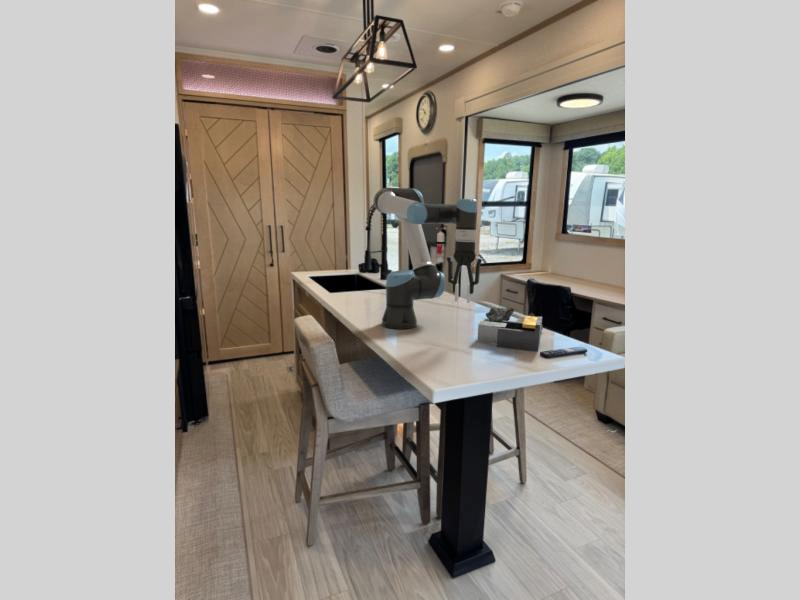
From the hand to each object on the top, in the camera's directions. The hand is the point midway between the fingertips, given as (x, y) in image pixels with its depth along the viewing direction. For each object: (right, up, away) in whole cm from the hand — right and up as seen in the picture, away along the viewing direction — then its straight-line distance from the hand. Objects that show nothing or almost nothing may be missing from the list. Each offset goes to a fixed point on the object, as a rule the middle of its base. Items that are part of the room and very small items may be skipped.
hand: (462, 301), depth 170 cm
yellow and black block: (+29, -13, +14) cm, 35 cm away
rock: (+21, -9, +30) cm, 37 cm away
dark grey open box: (+21, -16, -5) cm, 27 cm away
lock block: (+11, -16, -1) cm, 19 cm away
